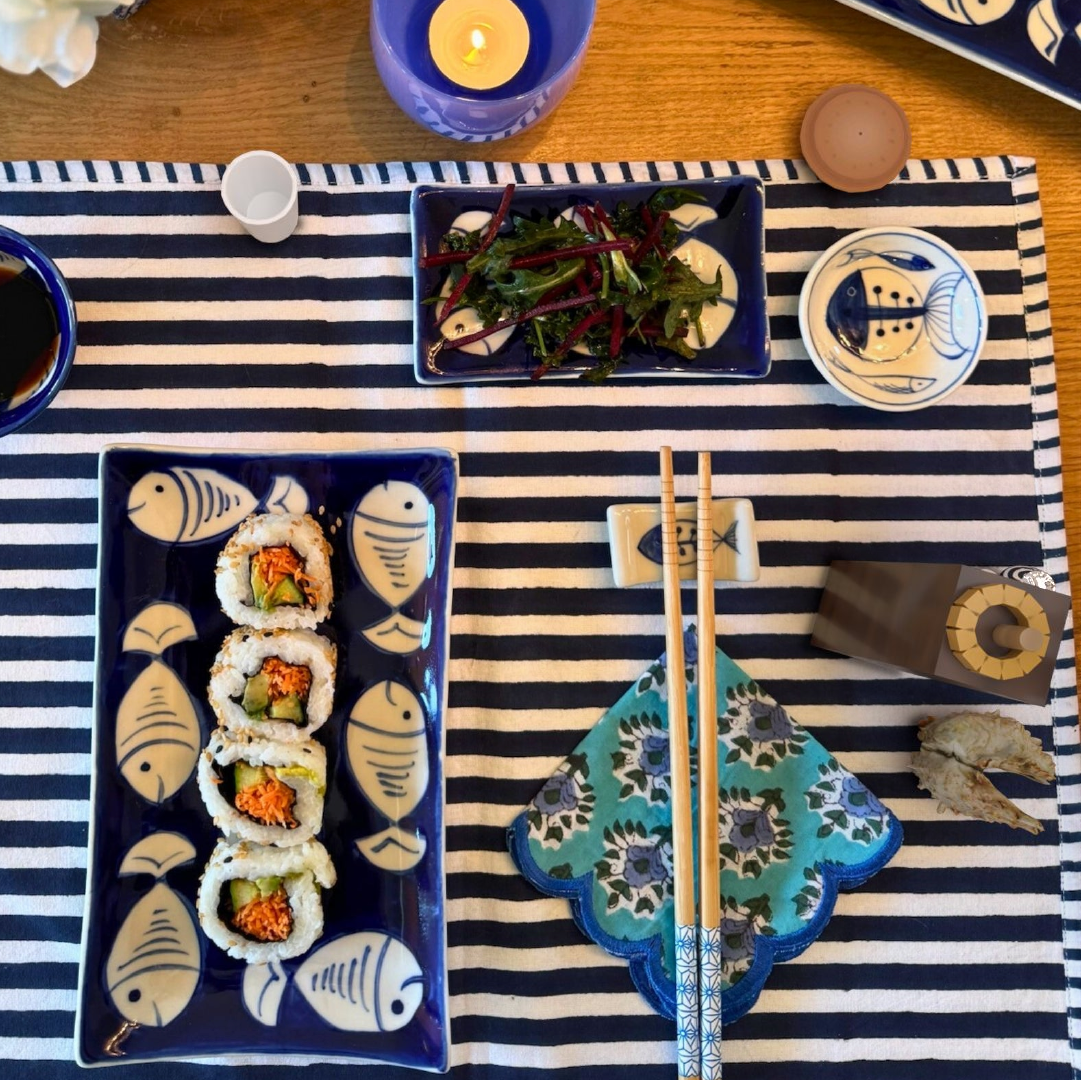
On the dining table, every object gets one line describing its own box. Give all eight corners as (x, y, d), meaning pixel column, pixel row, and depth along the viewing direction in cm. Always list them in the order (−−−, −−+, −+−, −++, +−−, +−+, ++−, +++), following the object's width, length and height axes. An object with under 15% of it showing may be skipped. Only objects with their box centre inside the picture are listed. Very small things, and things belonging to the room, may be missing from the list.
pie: (884, 213, 148) (901, 202, 143) (779, 183, 148) (791, 170, 143) (911, 112, 149) (928, 96, 144) (806, 82, 149) (820, 66, 144)
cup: (222, 215, 147) (204, 184, 134) (274, 169, 148) (261, 134, 135) (269, 266, 147) (256, 240, 134) (321, 220, 147) (313, 190, 134)
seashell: (1072, 865, 123) (1114, 749, 126) (933, 788, 124) (979, 676, 128) (985, 847, 140) (1025, 746, 144) (865, 780, 142) (907, 682, 145)
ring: (1048, 601, 110) (1060, 602, 108) (1022, 689, 109) (1034, 691, 107) (961, 571, 110) (971, 572, 108) (935, 659, 109) (945, 661, 107)
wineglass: (994, 613, 144) (1047, 619, 132) (957, 593, 144) (1006, 597, 132) (1013, 577, 144) (1068, 580, 132) (976, 556, 144) (1027, 557, 132)
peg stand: (915, 584, 144) (1103, 599, 105) (893, 669, 143) (1075, 715, 104) (831, 560, 144) (988, 565, 105) (809, 644, 143) (959, 680, 104)
